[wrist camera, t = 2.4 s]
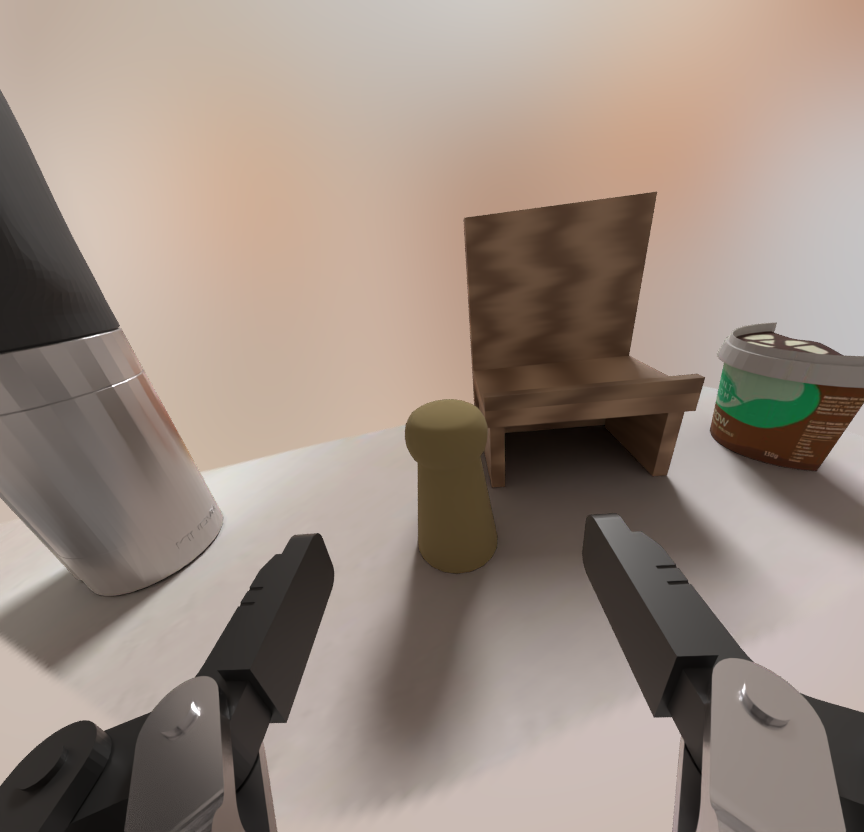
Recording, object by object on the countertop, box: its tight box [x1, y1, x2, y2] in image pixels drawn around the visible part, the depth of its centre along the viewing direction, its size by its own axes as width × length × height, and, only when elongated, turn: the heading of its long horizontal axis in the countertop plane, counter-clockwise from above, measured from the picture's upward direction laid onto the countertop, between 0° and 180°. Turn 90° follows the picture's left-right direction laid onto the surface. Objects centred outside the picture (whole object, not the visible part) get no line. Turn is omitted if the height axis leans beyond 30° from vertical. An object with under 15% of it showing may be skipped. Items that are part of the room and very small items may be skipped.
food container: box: [710, 323, 864, 471], centre depth 28 cm, size 12×6×10 cm, turn 165°
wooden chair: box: [464, 192, 705, 487], centre depth 28 cm, size 16×12×22 cm
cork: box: [405, 399, 497, 574], centre depth 21 cm, size 6×6×11 cm
